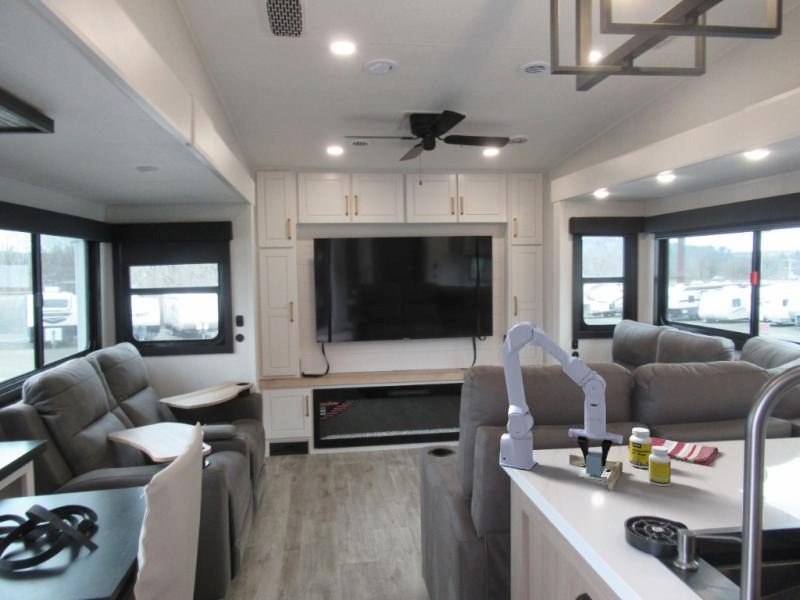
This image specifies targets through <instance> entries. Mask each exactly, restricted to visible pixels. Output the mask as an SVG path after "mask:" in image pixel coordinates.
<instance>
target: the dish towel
mask: <svg viewBox="0 0 800 600" xmlns="http://www.w3.org/2000/svg"><path fill="white" fill-rule="evenodd" d="M649 437H650V438H651V439H652V447H653V446H662V447H666V448H667V449H668V454H667V456H668V457H669V458H670V460H673V459H675V460H674V461H678V460H681V461H680V462H683V461H685V462H684V463H689V464H695V465H699V466H705V467H708V466H709V464H710V463H711V462H712V461H713V460H714V458H715V456H716V455H718V454H719V448H718V447H716V446H707V445H698V444H697V445H696V444H690V443H685V442H682V441H674V440H669V439H665V438H659V437H652V436H649ZM628 449H629V450H630V445H628V447H627V450H628ZM652 454H653V453H652Z"/></svg>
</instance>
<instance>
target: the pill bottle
mask: <svg viewBox="0 0 800 600" xmlns="http://www.w3.org/2000/svg"><path fill="white" fill-rule="evenodd" d="M631 434H632V435H630V437H629V446H630V451H629V464H631V465H632V467H633V466H635V467H634V468H636V467H639V468H638V469H641V468H648V469H649V455H651V454H652V439H651V438H650V437H651V436H650V430H649V429H648V428H644V427H633V428H632V431H631ZM631 465H630V466H631Z"/></svg>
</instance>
